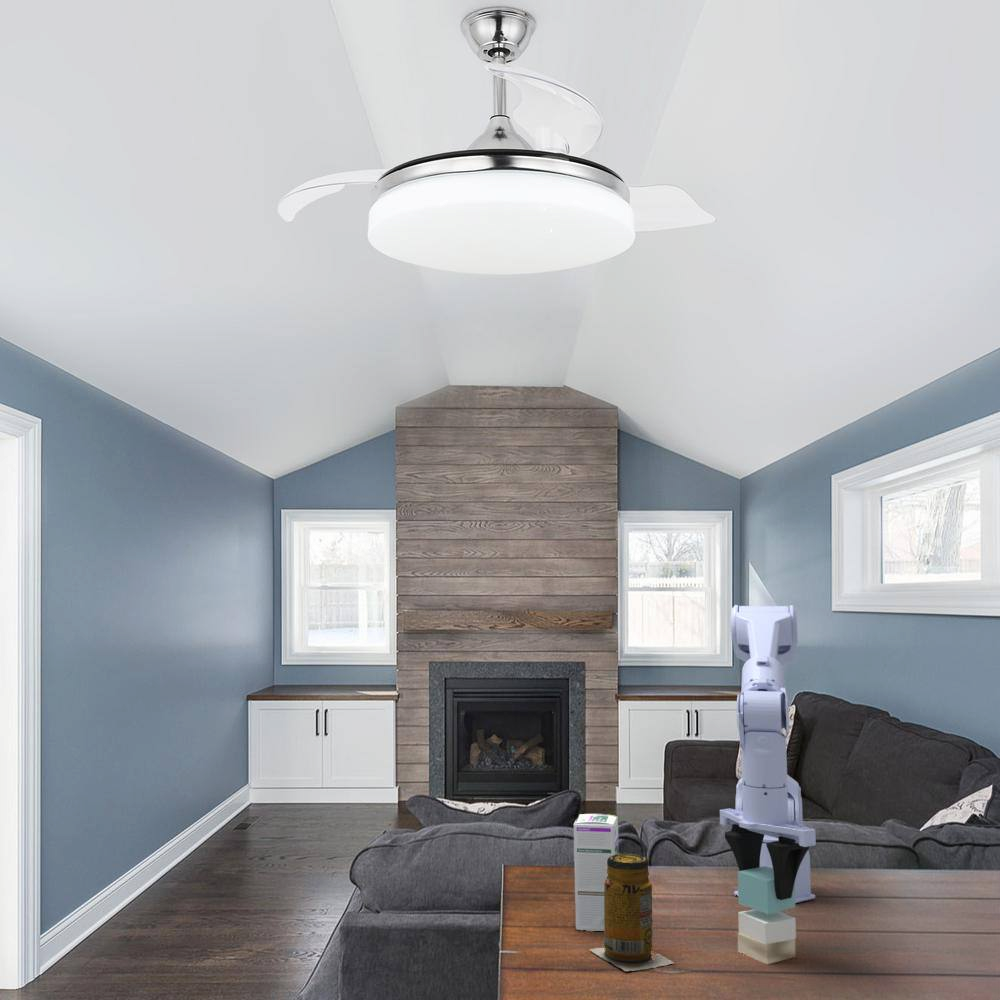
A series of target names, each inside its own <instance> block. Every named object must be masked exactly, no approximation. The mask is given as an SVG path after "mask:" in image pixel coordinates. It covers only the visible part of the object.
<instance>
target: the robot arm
mask: <svg viewBox="0 0 1000 1000" xmlns="http://www.w3.org/2000/svg"><path fill="white" fill-rule="evenodd" d="M797 610H798V609H797V608H796V607H795V606H794V604H792V605H791V604H789V606H788V605H772V606H771V605H739V604H738V605H737V604H734V606H733V607H732V608H731V609H730V632H731V633H730V635H731V642H732V646H733V652H734V653H735V658H737V659H739V660H741V661H743V662H744V664H743V667H742V669H741V685H740V686H741V691H740V692H741V693H739V694H737V698H736V725H737V730H738V735H739V748H740V749H741V752H740V754H741V755H740V756H741V758H740V759H741V760H740V761H741V778H739V779H738V780H737V781H738V782H737V784H736V786H735V787H736V789H735V790H736V794H735V809H734V808H723V809H719V825H721V826H731V829H730V830H729V831H725V832H724V838H725V840H726V842H727V843H728V845H729V848H730V849H731V851H732V853H733V856H734V859H735V861H736V863H737V867H738V870H739V871H743V870H748V869H753V868H758V867H763V866H766V867H770V868H773V871H774V885H775V893H776V897H777V899H779V900H784V899H788V898H791V897H792V892H793V887H794V883H795V904H796V903H801V902H804V901H809V900H813V899H816V895H815V894H814V893H812V889H811V856H810V851H809V849H810V847H813V846H816V845H817V843H816V839H817V837H816V829H814V828H811V827H808V826H805V825H804V824H803V800H802V799H803V798H802V793H801V791H802V789H801V786H800V785H799V783H798V781H796V780H795V779H794V778H792V777H791V776H790V775H789V774H788V759H787V758H788V757H787V737H788V735H789V731H790V713H789V712H790V710H789V709H790V708H789V707H790V706H789V697H788V694H787V688H786V680H785V679H786V678H785V676H786V675H785V668H784V664H785V663H787V662H790V661H792V660H794V659H796V654H797V652H798V650H797V649H798V648H797V645H798V641H799V640H798V639H799V638H798V613H797ZM783 729H784V730H785V731H786V733H785V734H786V735H785V734H784V733H783V732H782V730H783ZM786 736H787V737H786ZM733 895H734V896H736V895H737V897H738V890H734V892H733Z"/></svg>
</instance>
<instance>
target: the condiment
mask: <svg viewBox="0 0 1000 1000" xmlns="http://www.w3.org/2000/svg"><path fill="white" fill-rule="evenodd" d="M649 863H650V862H649V860H648V858H646V857H645V856H643V855H639V854H636V853H635V854H632V853H619V854H615V855H612V856H610V857H609V858H608V860H607V874H608V876H607V878H606V879H605V882H604V932H603V933H604V934H603V935H604V938H603V939H604V944H603V945H604V947H595V948H590V949H589V951H590V952H592V953H593V954H595V955H596V956H598V957H599V958H601V959H603V960H604V961H606V962H610V964H612V965H614V966H615V967H617V968H619V969H621V970H623V971H624V972H630V971H631V972H634V971H641V970H648V969H656V968H658V967H662V966H664V967H665V966H668V965H671V964H672V965H673V964H675V962H674V961H672V960H671V959H668V958H667V957H665V956H663V955H662V954H659V953H657V952H656V953H657V954H656V956H659V957H656V956H655V960H651V959H652V958H651V956H652V955H651V952H652V951H653V949H652V948H653V922H654V921H653V886H652V881H651V880H650V878H649V875H650V872H649ZM604 949H605V950H604ZM649 961H650V962H649Z"/></svg>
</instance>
